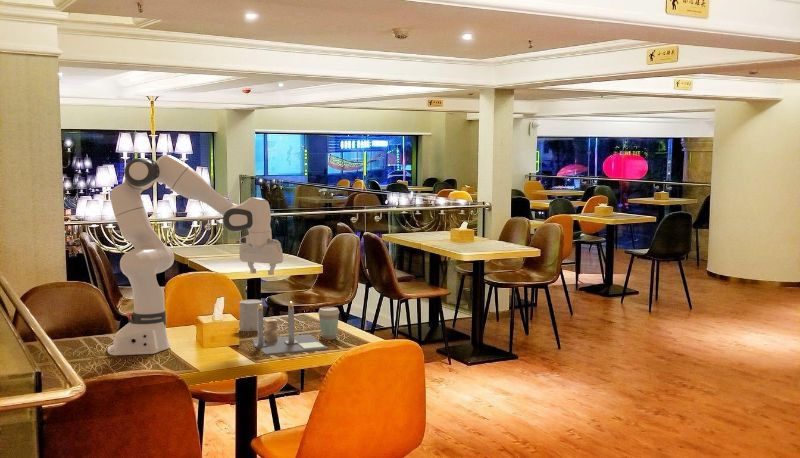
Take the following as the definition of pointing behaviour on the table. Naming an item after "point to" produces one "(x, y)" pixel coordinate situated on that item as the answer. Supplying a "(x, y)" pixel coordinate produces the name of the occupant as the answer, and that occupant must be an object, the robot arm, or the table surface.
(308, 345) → the pad
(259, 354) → the table surface
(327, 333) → the coffee cup
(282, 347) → the mat
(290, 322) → the gate
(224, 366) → the table surface
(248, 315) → the grey canister
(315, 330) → the table surface
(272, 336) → the block
